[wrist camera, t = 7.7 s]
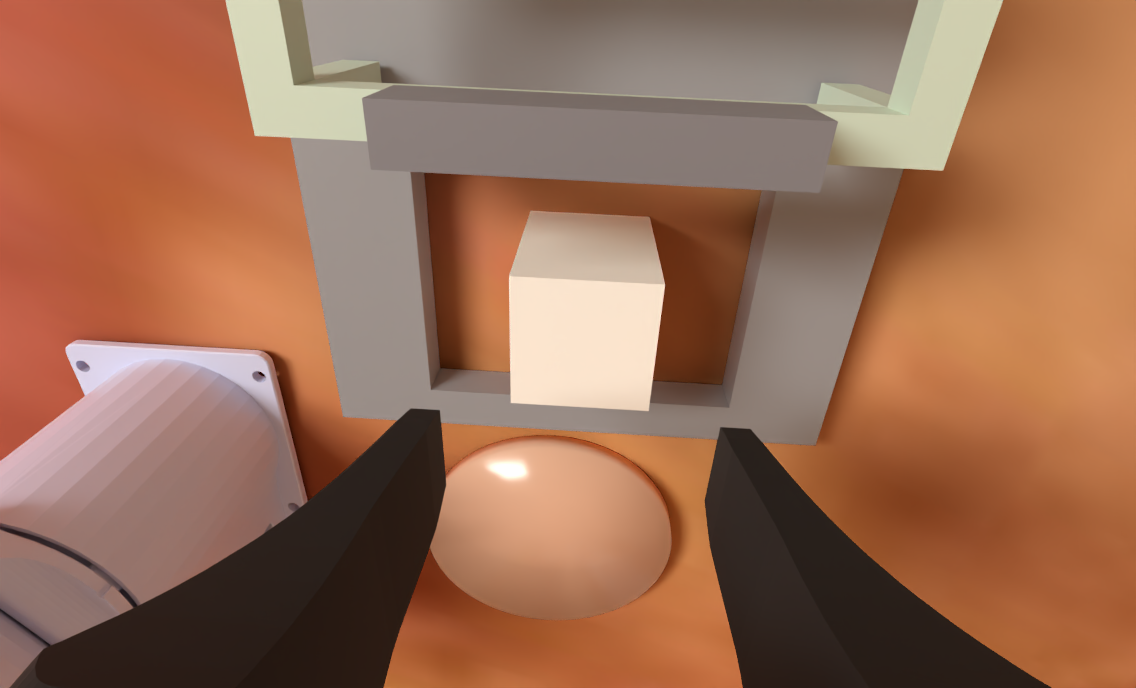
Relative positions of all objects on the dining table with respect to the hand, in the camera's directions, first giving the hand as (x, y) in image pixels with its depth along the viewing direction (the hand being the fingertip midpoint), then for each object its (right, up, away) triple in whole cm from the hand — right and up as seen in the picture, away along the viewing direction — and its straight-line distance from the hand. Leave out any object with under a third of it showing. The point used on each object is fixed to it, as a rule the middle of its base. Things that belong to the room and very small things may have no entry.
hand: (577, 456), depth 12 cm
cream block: (0, +5, +9) cm, 10 cm away
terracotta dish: (-1, -6, +15) cm, 16 cm away
